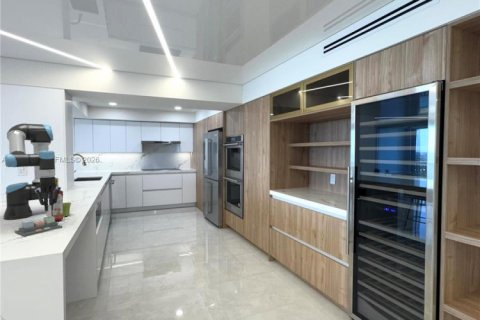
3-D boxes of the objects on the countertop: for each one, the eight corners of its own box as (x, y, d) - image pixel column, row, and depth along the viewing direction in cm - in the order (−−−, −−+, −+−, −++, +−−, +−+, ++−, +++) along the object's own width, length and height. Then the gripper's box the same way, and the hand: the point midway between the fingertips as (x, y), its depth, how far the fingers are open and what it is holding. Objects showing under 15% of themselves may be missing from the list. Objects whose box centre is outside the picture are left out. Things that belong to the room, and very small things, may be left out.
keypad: (14, 232, 143) (14, 227, 143) (51, 224, 159) (51, 219, 158) (24, 236, 137) (24, 231, 136) (62, 227, 152) (61, 222, 152)
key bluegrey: (21, 227, 142) (21, 221, 142) (30, 225, 146) (30, 220, 146) (25, 228, 140) (24, 222, 140) (33, 226, 144) (33, 221, 144)
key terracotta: (33, 228, 147) (33, 222, 147) (41, 226, 150) (41, 221, 150) (36, 229, 145) (36, 223, 145) (44, 227, 148) (44, 222, 148)
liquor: (53, 222, 162) (51, 179, 161) (48, 221, 166) (46, 178, 165) (66, 220, 168) (64, 177, 167) (60, 218, 172) (59, 177, 171)
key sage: (43, 222, 151) (43, 217, 151) (51, 221, 155) (51, 216, 154) (46, 223, 149) (46, 218, 149) (54, 222, 153) (54, 216, 152)
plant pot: (54, 218, 172) (53, 205, 172) (56, 215, 181) (56, 203, 180) (70, 216, 177) (70, 204, 176) (72, 213, 185) (72, 201, 185)
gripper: (37, 178, 143) (38, 219, 144) (63, 176, 154) (64, 214, 155) (31, 177, 147) (33, 217, 148) (56, 175, 158) (58, 213, 159)
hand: (49, 216), depth 152 cm, fingers closed
